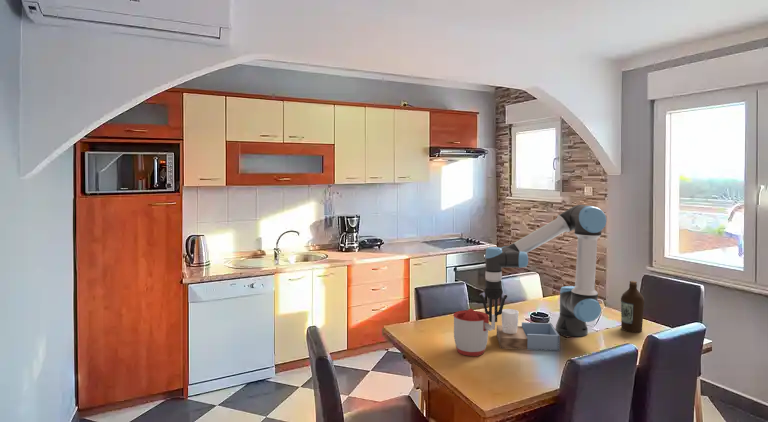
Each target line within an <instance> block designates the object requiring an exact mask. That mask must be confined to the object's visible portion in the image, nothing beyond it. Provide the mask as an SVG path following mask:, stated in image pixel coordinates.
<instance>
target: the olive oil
mask: <svg viewBox="0 0 768 422" xmlns="http://www.w3.org/2000/svg"><path fill="white" fill-rule="evenodd" d="M637 283H638V282H637V281H635V280H630V281H629V286H628V287H629V288H628V289H627V290H625V292H623V293H622V295H621V297H620V314H621V315H620V316H621V317H620V318H621V321H620V322H621V323H620V324H621V326H620V327H621V330H623V331H625V332H629V333H641V332H642V331H643V323H644V310H645V298H644V295H643V294H642V293H641V292H640V291H639V290H638V289H637V288H638V284H637Z"/></svg>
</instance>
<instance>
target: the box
mask: <svg viewBox="0 0 768 422" xmlns="http://www.w3.org/2000/svg"><path fill="white" fill-rule="evenodd" d="M521 326H522V328H523V330H524V332H525V334H526V337H527V339H528V342H527V350H528V351H531V350H532V351H548V352H549V351H552V352H553V351H555V352H560V342H561V341H560V333H558V332H557V331H556V327H554V325H553V323H551V322H549V323H547V322H528V321H527V322H526V321H525V322H524V321H523V322H521Z"/></svg>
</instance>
